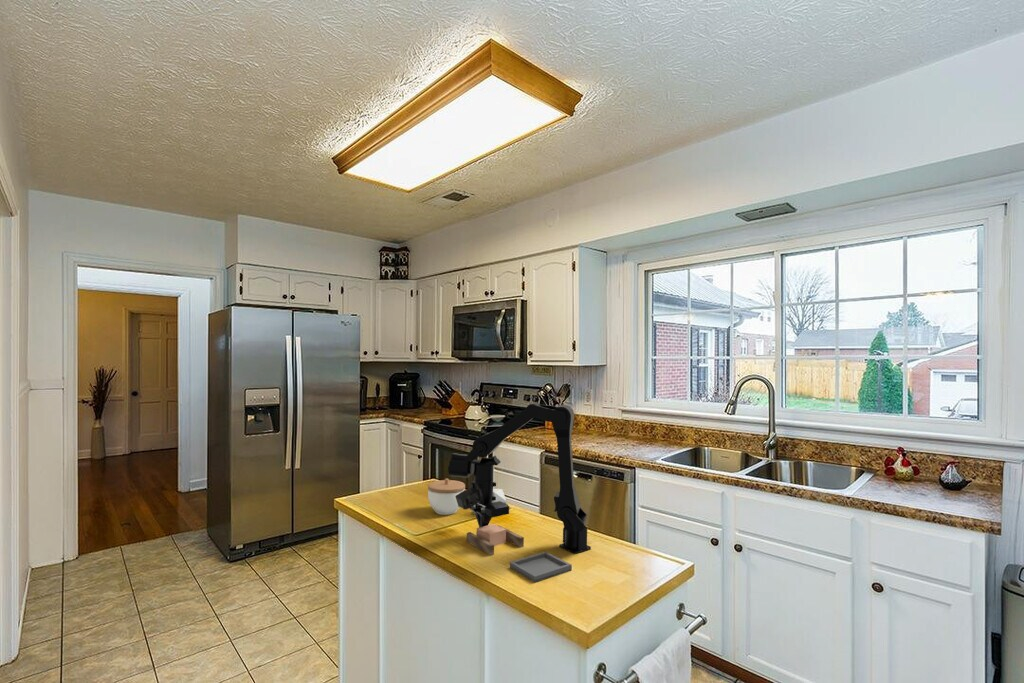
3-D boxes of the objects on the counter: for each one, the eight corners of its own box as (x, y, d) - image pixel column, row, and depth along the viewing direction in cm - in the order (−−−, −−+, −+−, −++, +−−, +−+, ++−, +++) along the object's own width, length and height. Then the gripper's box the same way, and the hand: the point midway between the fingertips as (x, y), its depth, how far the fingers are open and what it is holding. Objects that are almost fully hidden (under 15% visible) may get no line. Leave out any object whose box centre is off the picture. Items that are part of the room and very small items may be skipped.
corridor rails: (523, 546, 142) (523, 537, 142) (490, 555, 135) (490, 546, 135) (498, 533, 151) (498, 525, 151) (466, 541, 145) (466, 532, 145)
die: (497, 520, 165) (512, 494, 168) (475, 505, 167) (491, 480, 170) (497, 521, 173) (512, 497, 176) (476, 507, 174) (491, 483, 177)
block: (505, 543, 144) (506, 529, 144) (489, 548, 140) (490, 534, 140) (492, 537, 149) (492, 523, 149) (476, 542, 145) (476, 528, 145)
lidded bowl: (451, 519, 163) (452, 485, 163) (419, 513, 168) (420, 480, 169) (471, 509, 174) (472, 477, 174) (440, 503, 180) (441, 472, 180)
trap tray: (571, 570, 127) (571, 564, 127) (534, 582, 120) (535, 576, 120) (545, 556, 135) (545, 551, 135) (509, 567, 128) (509, 562, 128)
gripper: (444, 475, 151) (442, 528, 151) (478, 490, 136) (476, 548, 136) (475, 471, 158) (474, 521, 158) (511, 484, 143) (509, 539, 143)
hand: (482, 532), depth 148 cm, fingers closed
